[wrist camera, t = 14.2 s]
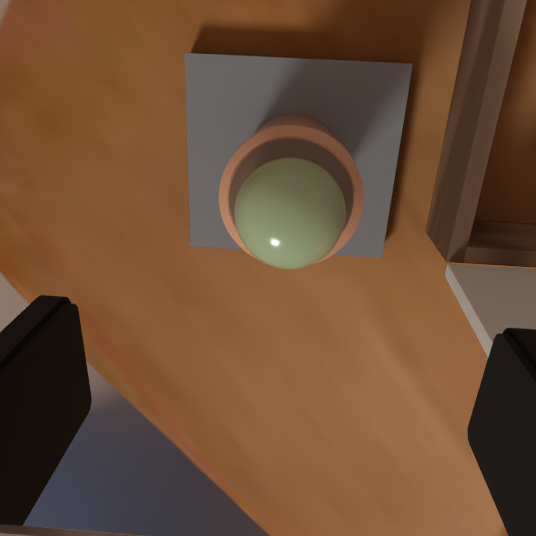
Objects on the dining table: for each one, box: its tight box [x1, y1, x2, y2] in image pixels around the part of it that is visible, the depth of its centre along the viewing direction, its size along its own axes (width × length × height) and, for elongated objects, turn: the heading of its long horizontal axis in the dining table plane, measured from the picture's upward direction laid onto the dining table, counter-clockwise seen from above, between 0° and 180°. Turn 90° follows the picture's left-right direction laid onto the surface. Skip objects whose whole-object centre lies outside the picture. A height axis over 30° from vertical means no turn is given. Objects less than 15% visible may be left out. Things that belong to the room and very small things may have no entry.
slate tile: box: [185, 53, 413, 258], centre depth 30 cm, size 13×12×2 cm
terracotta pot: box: [219, 114, 364, 269], centre depth 24 cm, size 7×7×12 cm
